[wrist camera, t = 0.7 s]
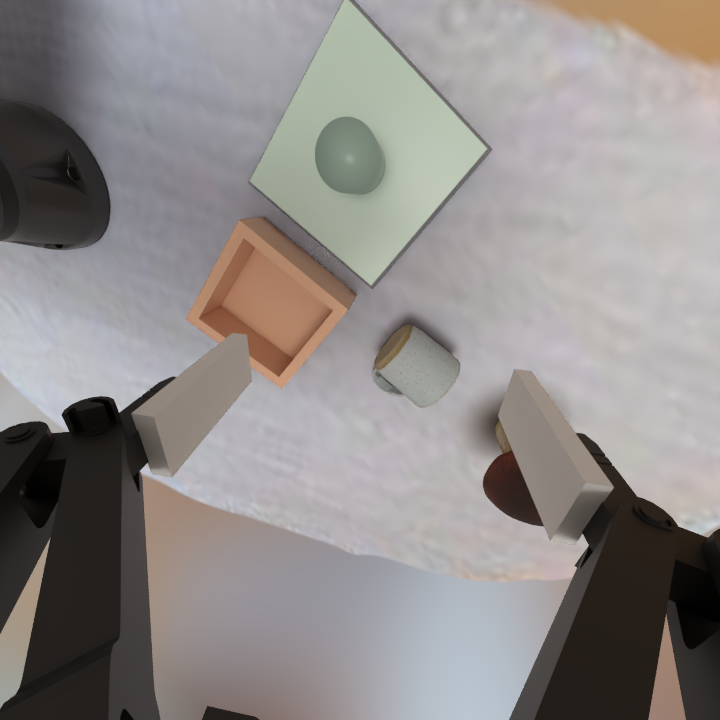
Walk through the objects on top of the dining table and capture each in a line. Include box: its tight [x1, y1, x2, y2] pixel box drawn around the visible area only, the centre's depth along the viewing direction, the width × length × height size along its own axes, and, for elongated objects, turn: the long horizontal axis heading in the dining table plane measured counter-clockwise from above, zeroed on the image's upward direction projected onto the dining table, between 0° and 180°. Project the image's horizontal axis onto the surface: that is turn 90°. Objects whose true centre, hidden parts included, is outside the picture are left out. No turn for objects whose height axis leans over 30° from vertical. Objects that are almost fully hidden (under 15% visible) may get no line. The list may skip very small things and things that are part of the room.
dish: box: [186, 217, 356, 389], centre depth 38 cm, size 14×14×6 cm
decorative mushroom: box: [483, 421, 544, 526], centre depth 38 cm, size 11×11×15 cm
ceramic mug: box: [372, 325, 460, 408], centre depth 39 cm, size 11×8×8 cm
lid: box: [250, 0, 487, 285], centre depth 28 cm, size 17×17×9 cm
